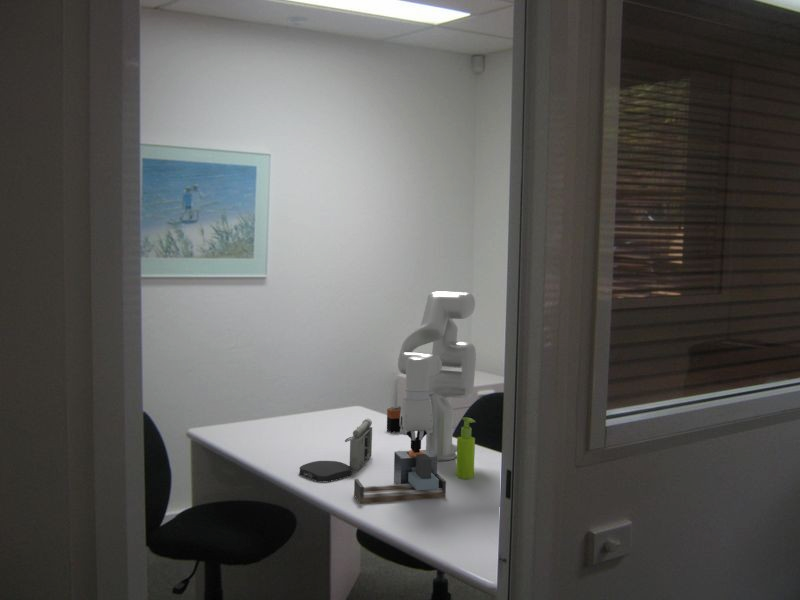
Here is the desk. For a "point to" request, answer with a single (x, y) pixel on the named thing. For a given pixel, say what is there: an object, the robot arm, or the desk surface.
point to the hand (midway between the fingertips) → (415, 451)
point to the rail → (396, 492)
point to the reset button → (414, 453)
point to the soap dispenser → (465, 451)
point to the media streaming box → (325, 470)
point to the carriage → (423, 474)
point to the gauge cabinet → (409, 465)
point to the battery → (393, 419)
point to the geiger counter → (360, 445)
